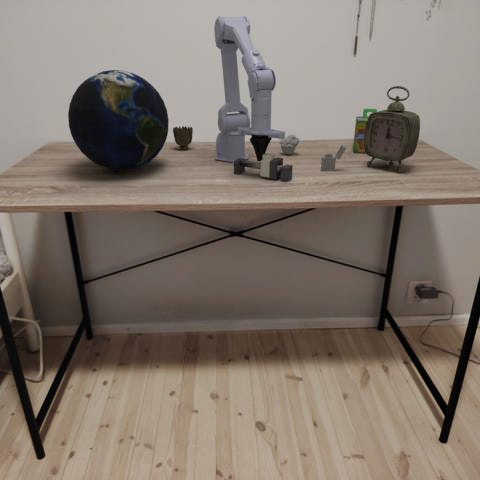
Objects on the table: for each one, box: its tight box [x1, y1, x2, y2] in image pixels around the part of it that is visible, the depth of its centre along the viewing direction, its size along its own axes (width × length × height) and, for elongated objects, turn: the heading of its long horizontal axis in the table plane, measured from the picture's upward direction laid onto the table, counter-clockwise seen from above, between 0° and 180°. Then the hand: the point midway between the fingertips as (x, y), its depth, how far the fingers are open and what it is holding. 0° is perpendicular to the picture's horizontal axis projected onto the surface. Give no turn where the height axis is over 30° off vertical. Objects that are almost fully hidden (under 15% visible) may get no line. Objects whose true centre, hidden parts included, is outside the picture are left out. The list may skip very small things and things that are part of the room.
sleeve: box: [260, 152, 276, 178], centre depth 132 cm, size 3×5×6 cm, turn 151°
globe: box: [67, 69, 169, 172], centre depth 136 cm, size 30×30×30 cm
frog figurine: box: [279, 134, 300, 155], centre depth 156 cm, size 6×7×7 cm
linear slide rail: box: [233, 158, 294, 183], centre depth 133 cm, size 18×4×4 cm, turn 62°
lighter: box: [320, 144, 347, 172], centre depth 138 cm, size 7×2×8 cm, turn 89°
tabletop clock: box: [364, 85, 421, 173], centre depth 136 cm, size 14×9×25 cm, turn 47°
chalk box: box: [352, 108, 378, 154], centre depth 159 cm, size 9×9×15 cm
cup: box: [172, 125, 194, 151], centre depth 164 cm, size 8×7×8 cm
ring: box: [268, 156, 284, 180], centre depth 131 cm, size 2×5×5 cm, turn 152°
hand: (260, 160), depth 132 cm, fingers closed
